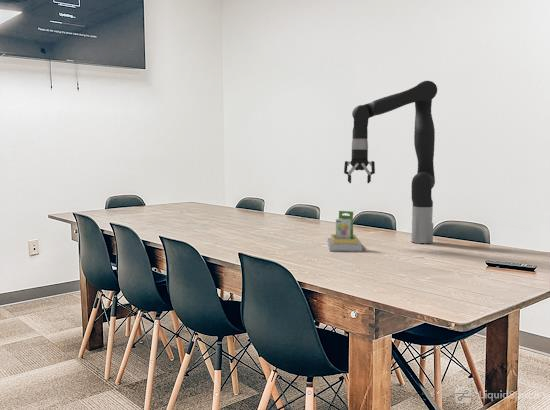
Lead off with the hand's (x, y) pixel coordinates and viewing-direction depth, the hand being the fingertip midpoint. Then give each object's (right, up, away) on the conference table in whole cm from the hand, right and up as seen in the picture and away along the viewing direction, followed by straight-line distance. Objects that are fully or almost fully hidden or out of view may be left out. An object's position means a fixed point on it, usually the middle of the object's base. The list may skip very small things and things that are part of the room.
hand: (359, 183), depth 254 cm
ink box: (-9, -27, -13) cm, 31 cm away
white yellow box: (-9, -30, -13) cm, 33 cm away
